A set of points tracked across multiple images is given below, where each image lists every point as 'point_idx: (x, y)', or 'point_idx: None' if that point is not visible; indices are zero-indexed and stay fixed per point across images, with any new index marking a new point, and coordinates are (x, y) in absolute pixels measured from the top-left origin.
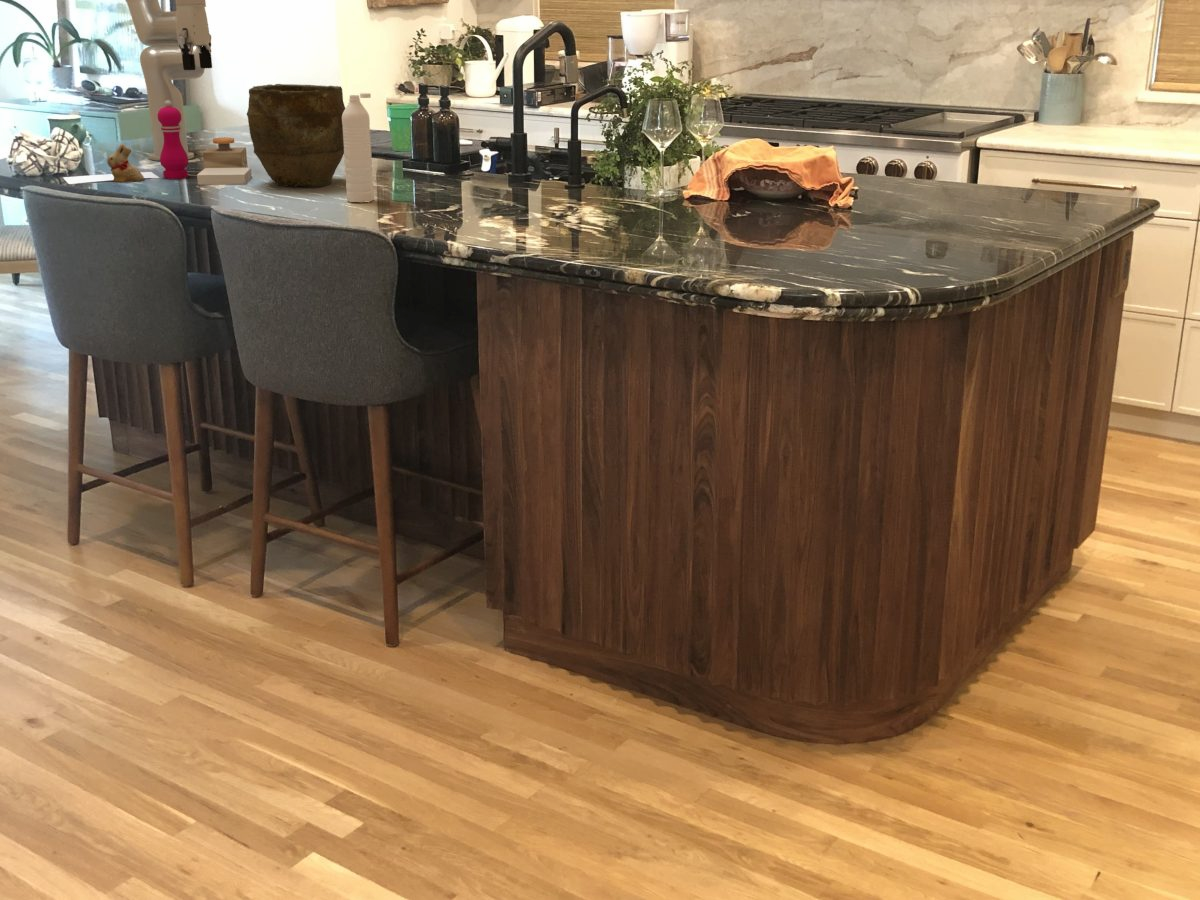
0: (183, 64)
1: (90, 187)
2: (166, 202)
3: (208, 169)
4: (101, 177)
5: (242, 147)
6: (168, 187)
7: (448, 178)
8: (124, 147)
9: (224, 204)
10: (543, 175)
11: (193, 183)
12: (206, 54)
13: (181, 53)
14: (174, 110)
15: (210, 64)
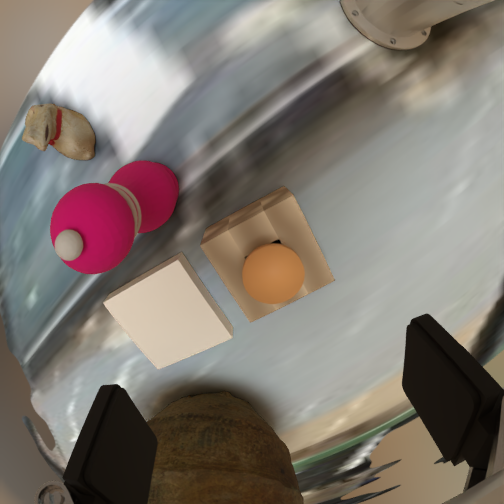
0: (91, 414)
1: (6, 139)
2: (9, 337)
3: (166, 279)
4: (89, 50)
5: (329, 274)
6: (64, 263)
7: (322, 481)
8: (30, 143)
9: (49, 398)
10: (357, 499)
11: (115, 275)
12: (449, 444)
13: (45, 487)
14: (80, 271)
15: (412, 402)
